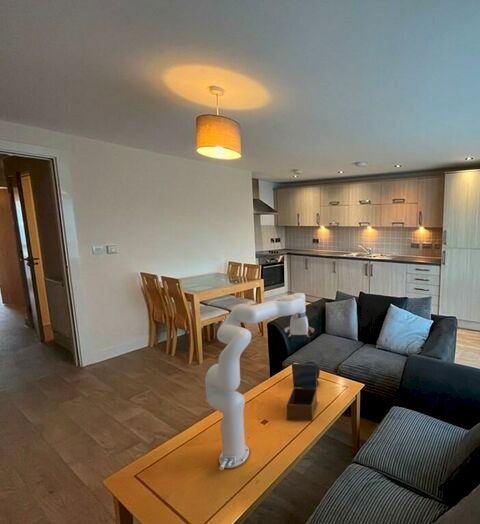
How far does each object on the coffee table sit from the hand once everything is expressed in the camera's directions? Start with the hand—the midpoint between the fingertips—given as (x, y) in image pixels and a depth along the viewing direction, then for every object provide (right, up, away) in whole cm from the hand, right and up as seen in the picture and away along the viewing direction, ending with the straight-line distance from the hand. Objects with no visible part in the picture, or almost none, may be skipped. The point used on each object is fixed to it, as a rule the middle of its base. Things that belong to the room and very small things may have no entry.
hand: (299, 342), depth 165 cm
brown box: (+2, -37, -5) cm, 38 cm away
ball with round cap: (+3, -33, +21) cm, 40 cm away
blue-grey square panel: (+3, -19, -1) cm, 19 cm away
